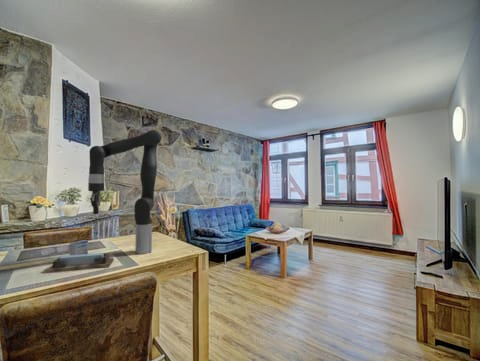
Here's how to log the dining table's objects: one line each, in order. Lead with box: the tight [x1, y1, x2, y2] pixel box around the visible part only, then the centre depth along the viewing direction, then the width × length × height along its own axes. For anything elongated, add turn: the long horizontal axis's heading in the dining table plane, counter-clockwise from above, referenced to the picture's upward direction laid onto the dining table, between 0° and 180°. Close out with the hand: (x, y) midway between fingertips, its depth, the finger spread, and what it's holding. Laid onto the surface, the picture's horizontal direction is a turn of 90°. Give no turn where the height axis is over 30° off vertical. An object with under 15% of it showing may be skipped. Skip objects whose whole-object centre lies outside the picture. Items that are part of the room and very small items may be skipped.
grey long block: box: [59, 252, 105, 266], centre depth 115 cm, size 18×4×4 cm, turn 109°
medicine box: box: [69, 239, 89, 255], centre depth 130 cm, size 8×4×9 cm, turn 168°
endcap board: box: [45, 252, 114, 274], centre depth 115 cm, size 26×10×4 cm, turn 108°
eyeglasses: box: [39, 245, 70, 259], centre depth 134 cm, size 14×8×4 cm, turn 141°
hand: (95, 213), depth 126 cm, fingers closed
